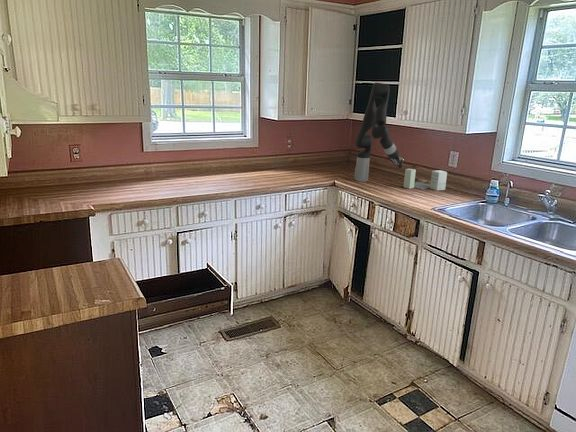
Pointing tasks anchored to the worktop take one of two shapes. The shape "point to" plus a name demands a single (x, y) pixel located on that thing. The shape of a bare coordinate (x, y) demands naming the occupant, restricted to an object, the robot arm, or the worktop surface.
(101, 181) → the worktop surface
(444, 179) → the supplement box
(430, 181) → the rail
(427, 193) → the worktop surface
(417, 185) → the mat
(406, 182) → the block
